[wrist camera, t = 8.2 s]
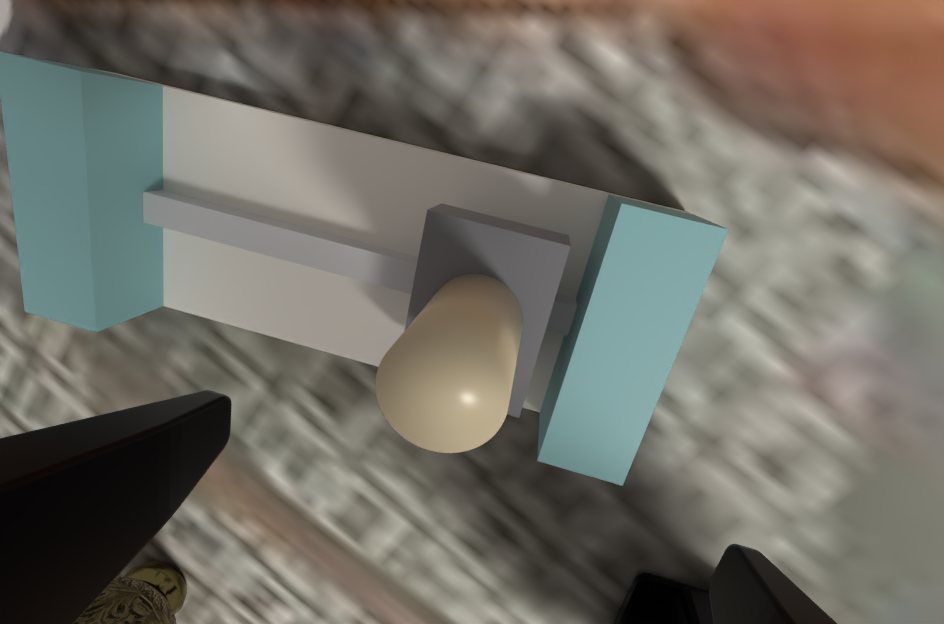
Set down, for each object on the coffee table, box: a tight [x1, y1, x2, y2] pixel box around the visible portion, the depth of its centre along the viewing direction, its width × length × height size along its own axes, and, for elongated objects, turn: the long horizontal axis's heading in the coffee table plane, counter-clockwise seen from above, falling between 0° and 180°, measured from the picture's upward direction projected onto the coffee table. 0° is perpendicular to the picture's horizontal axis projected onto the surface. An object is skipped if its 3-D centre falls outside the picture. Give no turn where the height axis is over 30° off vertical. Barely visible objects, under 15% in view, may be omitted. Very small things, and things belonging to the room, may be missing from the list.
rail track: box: [0, 52, 729, 486], centre depth 18 cm, size 9×23×4 cm, turn 77°
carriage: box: [375, 203, 571, 453], centre depth 14 cm, size 6×4×8 cm
